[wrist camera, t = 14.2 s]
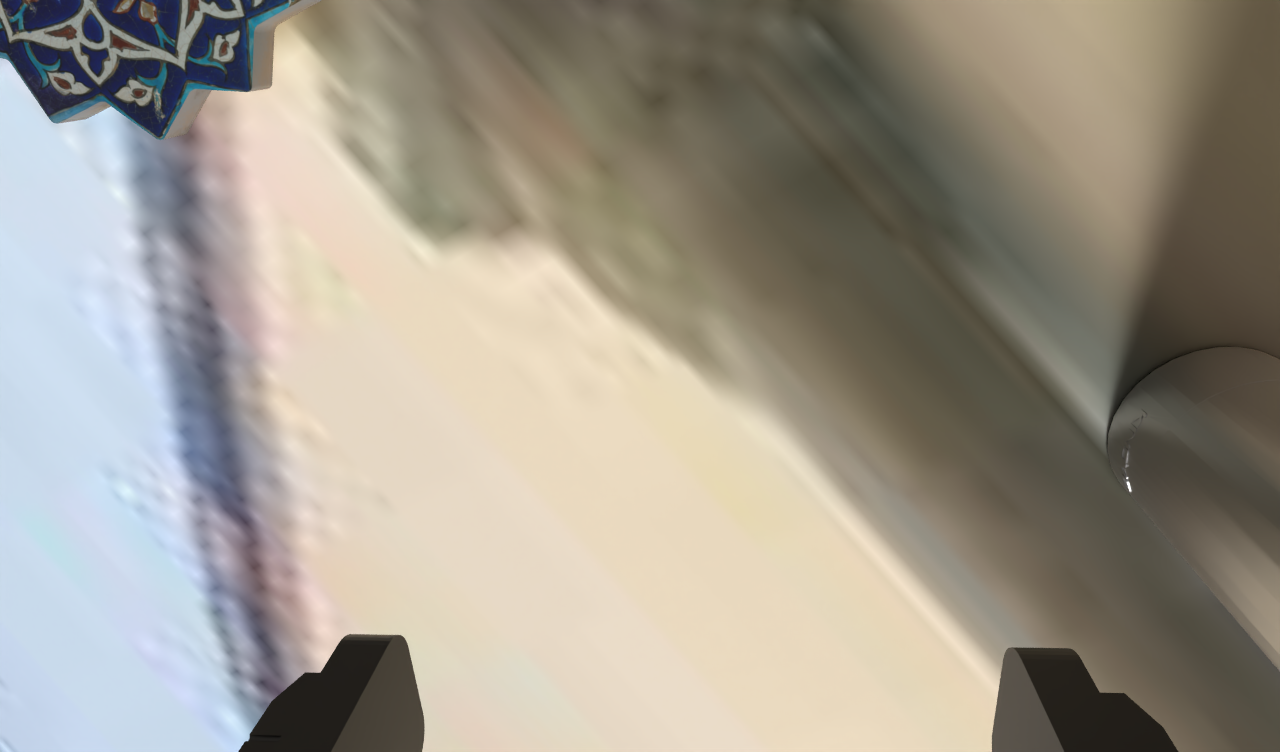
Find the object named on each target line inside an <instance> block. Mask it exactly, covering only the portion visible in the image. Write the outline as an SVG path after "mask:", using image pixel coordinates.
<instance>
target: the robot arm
mask: <svg viewBox="0 0 1280 752" xmlns="http://www.w3.org/2000/svg"><path fill="white" fill-rule="evenodd" d="M1107 452H1108V456H1109V461H1110V466H1111V468H1112V470H1113V472H1114V474H1115V476H1116V478H1117V480H1118V481H1119V483H1120V484H1121V485H1122V486H1123V487H1124V488H1125V490H1126V491H1127V492H1128V493H1129V494H1130V496H1131V497H1132V498H1133V499H1134V500H1135V501H1136V503H1137V504H1138V505H1139V506H1140V507H1141V509H1142V510H1143V511H1144V512H1145V513H1146V514H1147V516H1148V517H1149V518H1150V519H1151V520H1152V522H1153V523H1154V524H1155V525H1156V527H1157V528H1158V529H1159V530H1160V531H1161V533H1162V534H1163V535H1164V536H1165V537H1166V539H1167V540H1168V541H1169V542H1170V543H1171V544H1172V546H1173V547H1174V548H1175V549H1176V550H1177V551H1178V553H1179V554H1180V555H1181V556H1182V557H1183V558H1184V560H1185V561H1186V562H1187V563H1188V564H1189V565H1190V567H1191V568H1192V569H1193V570H1194V571H1195V573H1196V574H1197V575H1198V576H1199V577H1200V578H1201V580H1202V581H1203V582H1204V583H1205V584H1206V585H1207V587H1208V588H1209V589H1210V590H1211V591H1212V592H1213V594H1214V595H1215V596H1216V597H1217V598H1218V599H1219V601H1220V602H1221V603H1222V604H1223V605H1224V607H1225V608H1226V609H1227V610H1228V611H1229V612H1230V614H1231V615H1232V616H1233V617H1234V618H1235V619H1236V621H1237V622H1238V623H1239V624H1240V625H1241V626H1242V628H1243V629H1244V630H1245V631H1246V632H1247V633H1248V635H1249V636H1250V637H1251V638H1252V639H1253V641H1254V642H1255V643H1256V644H1257V645H1258V646H1259V648H1260V649H1261V650H1262V651H1263V652H1264V653H1265V655H1266V656H1267V657H1268V658H1269V659H1270V660H1271V662H1272V663H1273V664H1274V665H1275V666H1276V667H1277V669H1278V670H1279V671H1280V359H1278V358H1276V357H1273V356H1271V355H1269V354H1266V353H1264V352H1262V351H1259V350H1253V349H1248V348H1242V347H1216V348H1210V349H1205V350H1200V351H1195V352H1192V353H1189V354H1187V355H1184V356H1181V357H1178V358H1176V359H1173V360H1171V361H1170V362H1168V363H1166V364H1164V365H1163V366H1161V367H1159V368H1157V369H1155V370H1154V371H1153V372H1151V373H1150V374H1149V375H1148V376H1146V377H1145V378H1144V379H1143V380H1141V381H1140V382H1139V383H1138V384H1137V385H1136V386H1135V387H1134V388H1133V389H1132V390H1131V392H1130V393H1129V394H1128V395H1127V396H1126V397H1125V399H1124V400H1123V401H1122V403H1121V405H1120V407H1119V408H1118V410H1117V412H1116V414H1115V415H1114V417H1113V421H1112V424H1111V427H1110V430H1109V433H1108V448H1107ZM423 742H424V716H423V711H422V707H421V702H420V698H419V693H418V689H417V684H416V680H415V675H414V671H413V666H412V662H411V657H410V653H409V648H408V645H407V642H406V640H405V638H404V637H403V636H401V635H364V634H349V635H347V636H345V637H344V638H343V639H342V640H341V641H340V643H339V644H338V645H337V647H336V649H335V650H334V652H333V654H332V655H331V657H330V658H329V660H328V662H327V663H326V665H325V667H324V668H323V670H322V671H321V673H304V674H303V675H302V676H301V677H300V678H298V679H297V680H296V681H295V682H294V683H293V684H291V685H290V686H289V687H288V688H287V689H285V690H284V691H283V692H282V693H281V694H280V695H278V696H277V697H276V698H275V699H274V700H273V701H272V702H271V703H270V705H269V706H268V708H267V709H266V711H265V712H264V714H263V715H262V717H261V718H260V720H259V721H258V723H257V724H256V726H255V727H254V729H253V730H252V732H251V733H250V739H249V741H245V742H244V744H243V745H242V747H241V749H240V750H239V752H422V748H423ZM992 752H1178V751H1177V749H1176V747H1175V746H1174V744H1173V742H1172V741H1171V739H1170V738H1169V736H1168V734H1167V733H1166V731H1165V730H1164V728H1163V727H1162V726H1161V725H1160V724H1159V723H1158V722H1156V721H1155V720H1154V719H1153V718H1152V717H1151V716H1150V715H1148V714H1147V713H1146V712H1145V711H1144V710H1143V709H1142V708H1140V707H1139V706H1138V705H1137V704H1136V703H1135V702H1134V701H1132V700H1131V699H1130V698H1129V697H1128V696H1127V695H1126V694H1124V693H1100V692H1099V691H1098V689H1097V687H1096V685H1095V683H1094V682H1093V680H1092V678H1091V676H1090V675H1089V673H1088V671H1087V669H1086V667H1085V666H1084V664H1083V662H1082V660H1081V659H1080V657H1079V655H1078V654H1077V653H1076V652H1075V651H1074V650H1072V649H1068V648H1008V649H1007V650H1006V652H1005V655H1004V659H1003V665H1002V672H1001V678H1000V685H999V692H998V699H997V705H996V712H995V719H994V726H993V733H992Z"/></svg>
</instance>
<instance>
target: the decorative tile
mask: <svg viewBox="0 0 1280 752" xmlns="http://www.w3.org/2000/svg"><path fill="white" fill-rule="evenodd" d="M319 1H321V0H0V58H3V59H7V60H8V61H10V62H11V64H12V65H13V67H14V68H15V70H16V71H17V73H18V74H19V75H20V77H21V78H22V80H23V81H24V83H25V84H26V86H27V87H28V88H29V90H30V91H31V93H32V94H33V96H34V97H35V99H36V100H37V101H38V103H39V104H40V106H41V107H42V109H43V110H44V112H45V113H46V114H47V116H48V117H49V119H50V120H51V121H52V122H53V123H64V122H70V121H77V120H83V119H87V118H89V117H91V116H93V115H95V114H97V113H99V112H101V111H103V110H105V109H107V108H108V107H110V106H112V107H113V108H115V109H116V110H117V111H119V112H120V113H122V114H123V115H124V116H126V117H127V118H128V119H130V120H131V121H133V122H134V123H135V124H137V125H138V126H140V127H141V128H142V129H144V130H145V131H147V132H148V133H149V134H151V135H152V136H154V137H155V138H156V139H159V140H162V139H167V138H172V137H176V136H181V135H185V134H187V133H188V131H189V129H190V127H191V126H192V124H193V122H194V120H195V119H196V117H197V115H198V113H199V111H200V110H201V108H202V106H203V104H204V103H205V101H206V99H207V97H208V96H209V94H210V92H211V90H222V91H240V92H250V91H256V90H263V89H268V88H270V87H271V85H272V72H273V50H274V31H275V28H276V26H277V25H278V24H280V23H282V22H284V21H285V20H287V19H289V18H291V17H293V16H294V15H296V14H298V13H300V12H302V11H303V10H305V9H307V8H309V7H310V6H312V5H314V4H316V3H318V2H319Z"/></svg>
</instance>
